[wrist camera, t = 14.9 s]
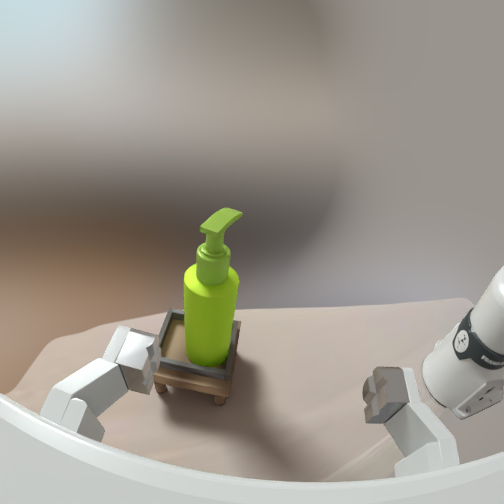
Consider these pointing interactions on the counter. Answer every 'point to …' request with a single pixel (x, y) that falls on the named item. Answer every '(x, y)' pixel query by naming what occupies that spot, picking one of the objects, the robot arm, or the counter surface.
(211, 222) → the soap dispenser
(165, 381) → the stool
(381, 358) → the counter surface
